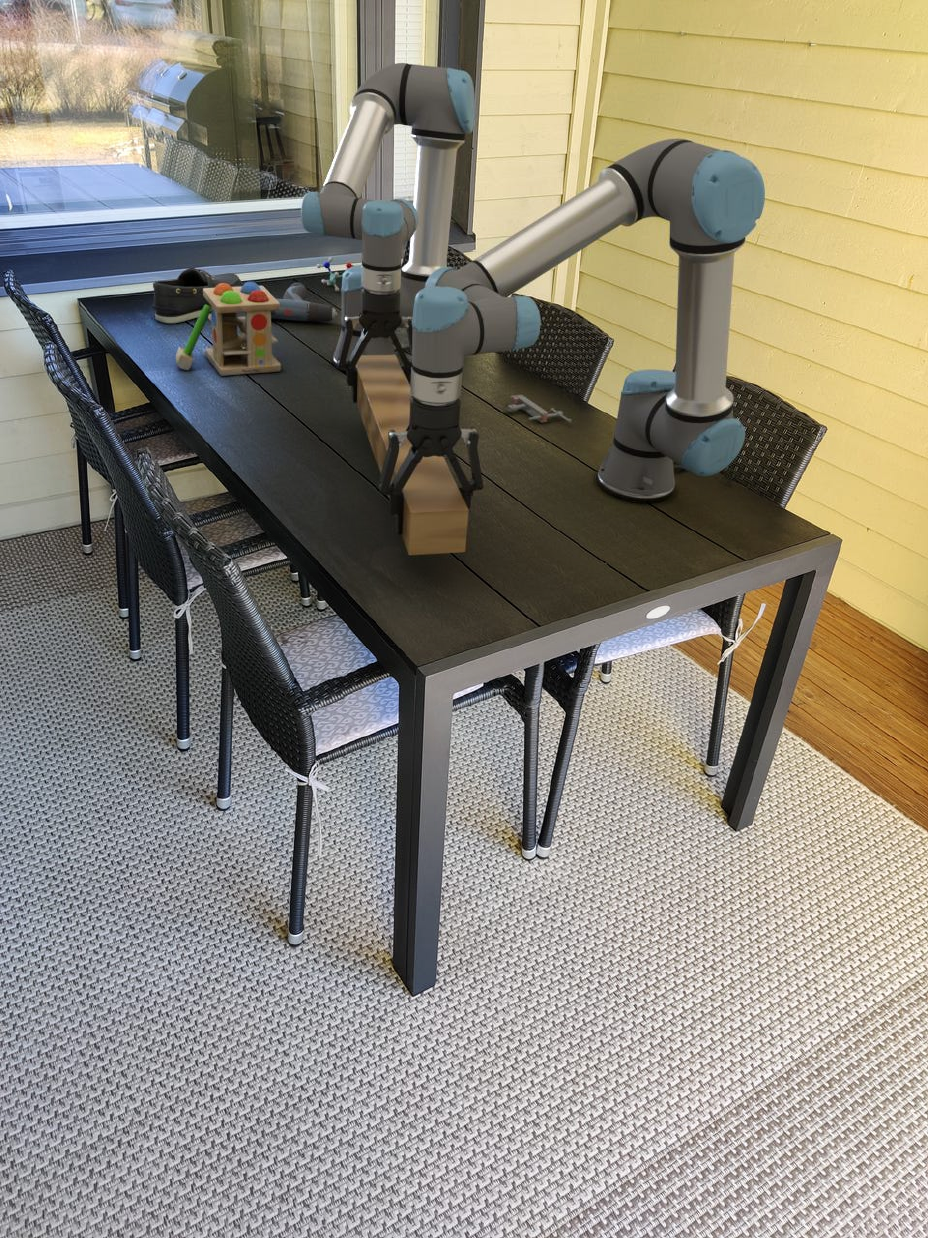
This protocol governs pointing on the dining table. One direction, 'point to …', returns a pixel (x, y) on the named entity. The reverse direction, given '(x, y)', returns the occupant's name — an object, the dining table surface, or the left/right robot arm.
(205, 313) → the pounding bench toy
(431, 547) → the wide beam
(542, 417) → the clamp
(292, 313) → the power drill
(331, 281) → the molecular model
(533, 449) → the dining table surface
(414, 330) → the right robot arm
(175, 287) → the boat shoe
